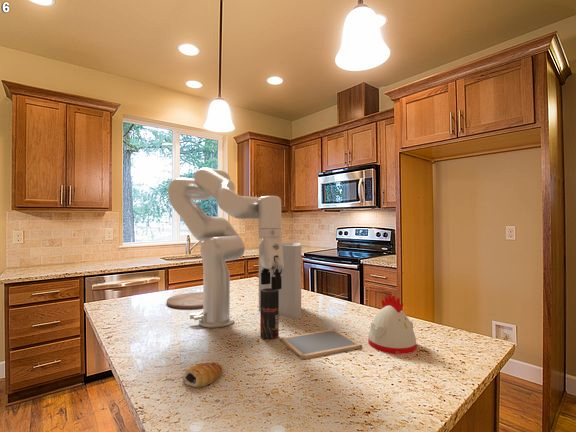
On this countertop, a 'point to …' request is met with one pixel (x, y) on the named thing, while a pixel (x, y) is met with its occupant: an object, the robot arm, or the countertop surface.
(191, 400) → the countertop surface
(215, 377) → the pastry
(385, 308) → the kitchen timer
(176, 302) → the trivet
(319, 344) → the slate board
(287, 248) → the tall white carton
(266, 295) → the deodorant
